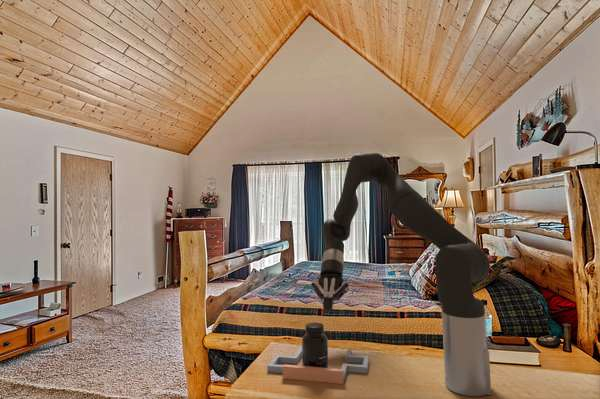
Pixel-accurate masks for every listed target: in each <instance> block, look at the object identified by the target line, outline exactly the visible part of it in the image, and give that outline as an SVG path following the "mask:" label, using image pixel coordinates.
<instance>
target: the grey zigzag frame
mask: <svg viewBox="0 0 600 399" xmlns="http://www.w3.org/2000/svg"><path fill="white" fill-rule="evenodd" d="M301 359H302V345H301V346H300V347H299V348H298V350H297V351H296V352H295V354H294V356H292V355H284V354H283V355H282V354H281V355H279V354H276V355H275V356H274V357H273V358H272V360H271V361H269V363H268V364H267V372H269V373H278V374H279V373H280V374H281V373H282V379H284V380H285V379H286V380H296V381H305V382H306V381H307V382H318V383H326V382H327V383H328V384H339V385H344V383H345V380H346V377H347V373H357V372H359V373H360V374H368V370H369V363H370V355H369V356H368V355H356V354H353V352H352V349H347V350H346V353H345V358H344V359H345V362H346V363H342V365H341V368H331V367H328V368H321V367H309V366H302V365H297V364H298V363H299V361H300V360H301ZM280 363H283V364H280ZM351 363H359V364H351ZM294 364H295V365H294Z"/></svg>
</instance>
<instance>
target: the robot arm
mask: <svg viewBox="0 0 600 399" xmlns="http://www.w3.org/2000/svg"><path fill="white" fill-rule="evenodd" d="M369 182H377V183H378V184H379V185H381V187H382V188H383V189H384V190H385V191H386V197H387V198H386V200H387V207H388V209H389V211H390V213H391V214H392V215H393V216H394V217H395V218H396V220H397V221H398V222H399V223H400V224H401V225H402V226H403V227H405V229H407V230H408V231H410V232H412V233H413V234H415V235H416V236H419V237H420V238H423V239H424V240H426V241H428V242H429V243H430V244H432V245H434V246H435V247H436V248H437V249H438V252H437V254H436V258H435V261H434V262H435V264H434V266H435V267H434V270H435V281H436V290H437V296H438V300H439V303H440V306H441V317H442V319H441V320H442V322H441V323H442V340H443V341H442V343H443V364H444V365H443V366H444V382H445V383H444V384H445V387H446V388H447V389H448V390H450V391H452V392H453V393H456V394H458V395H462V396H467V397H482V396H486V395H489V396H491V395H492V382H491V381H492V380H491V362H490V361H491V360H490V351H489V349H488V348H487V335H486V334H487V331H486V330H487V329H486V311H485V309H486V308H485V303H484V302H483V301H482V300H481V299H479V298H476V297H475V295H474V289H473V283H475V282H478V281H481V280H484V279H485V278H486V277H488V275H489V274H490V270H491V262H490V259H489V257H488V255H487V253H486V252H485V250H483V249H482V248H481V246H479V245H478V244H477V243H475V242H474V241H473V240H472V239H470V238H469V237H468V236H466V235H465V234H463V233H462V232H461V231H460V230H458V229H457V228H456V227H455V226H453V224H451V223H450V222H449V221H448V220H447V219H446V218H445V217H444V216H443V215H442V214H441V213H439V211H437V209H435V208H434V207H433V206H432V205H431V204H430V203H429V202H428V201H427V200H426V198H424V197H423V196H422V195H421V194H420V193H419V192H417V191H416V190H415V189H414V188H413V187H412V186H411V185H410V184H409V183H408V182H407V181H406V180H405V179H404V178H403V177H402V176H401V175H400V174H399V173H398V172H397V171H396V169H395V168H394V167H393V166H392V165H391V164H390V162H389V161H388V160H387V159H386V157H385V156H383V155H382V154H381V153H378V152H374V151H373V152H372V151H371V152H362V153H356V154H353V155H352V156H351V157H350V160H349V162H348V164H347V168H346V172H345V177H344V182H343V186H342V192H341V195H340V198H339V201H338V203H337V206H336V208H335V209H334V213H333V217H332V218H333V219H331V218H328V219H326V220H325V221H324V222H323V225H322V228H321V229H322V236H323V241H324V250H323V255H322V258H321V267H320V274H319V277H318V279H317V281H316V282H313V281H312V282H311V284H310V285H311V289H312V290H313V291H314V293H315V294H316V295H317V297H318V298H319V300H321V301H322V300H323V302H322V307H323V311H324V312H327V313H329V312H331V311H332V310H333V305H334V301H339V300H340V299H341V298H342V297H343V296H344V295H345V294H346V293H347V292H348V291H349V290H350V285H349V282H345V281H344V279H343V275H344V265H345V263H344V262H345V258H344V256H345V243H344V242H345V241H347V240H348V239H349V238H350V235H351V225H352V222H353V219H354V216H355V215H356V213H357V211H358V209H359V208H358V207H359V199H358V195H357V189H358V187H359V186H360V185H361V184H362V183H369ZM320 287H321V288H320ZM320 289H322V291H323V292H322V291H321V290H320Z"/></svg>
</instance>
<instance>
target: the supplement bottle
mask: <svg viewBox="0 0 600 399" xmlns="http://www.w3.org/2000/svg"><path fill="white" fill-rule="evenodd" d="M324 326H325V325H324V324H323V323H320V322H309V323H308V322H307V323H306V324H305V334H304V335H303V336H302V338H301V346H302V357H301V359H302V361H301V362H302V365H301V366H309V367H321V368H329V350H328V349H329V347H328V346H329V342H328V337H327V335H326V334H324V332H325V330H324V328H325V327H324Z"/></svg>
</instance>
